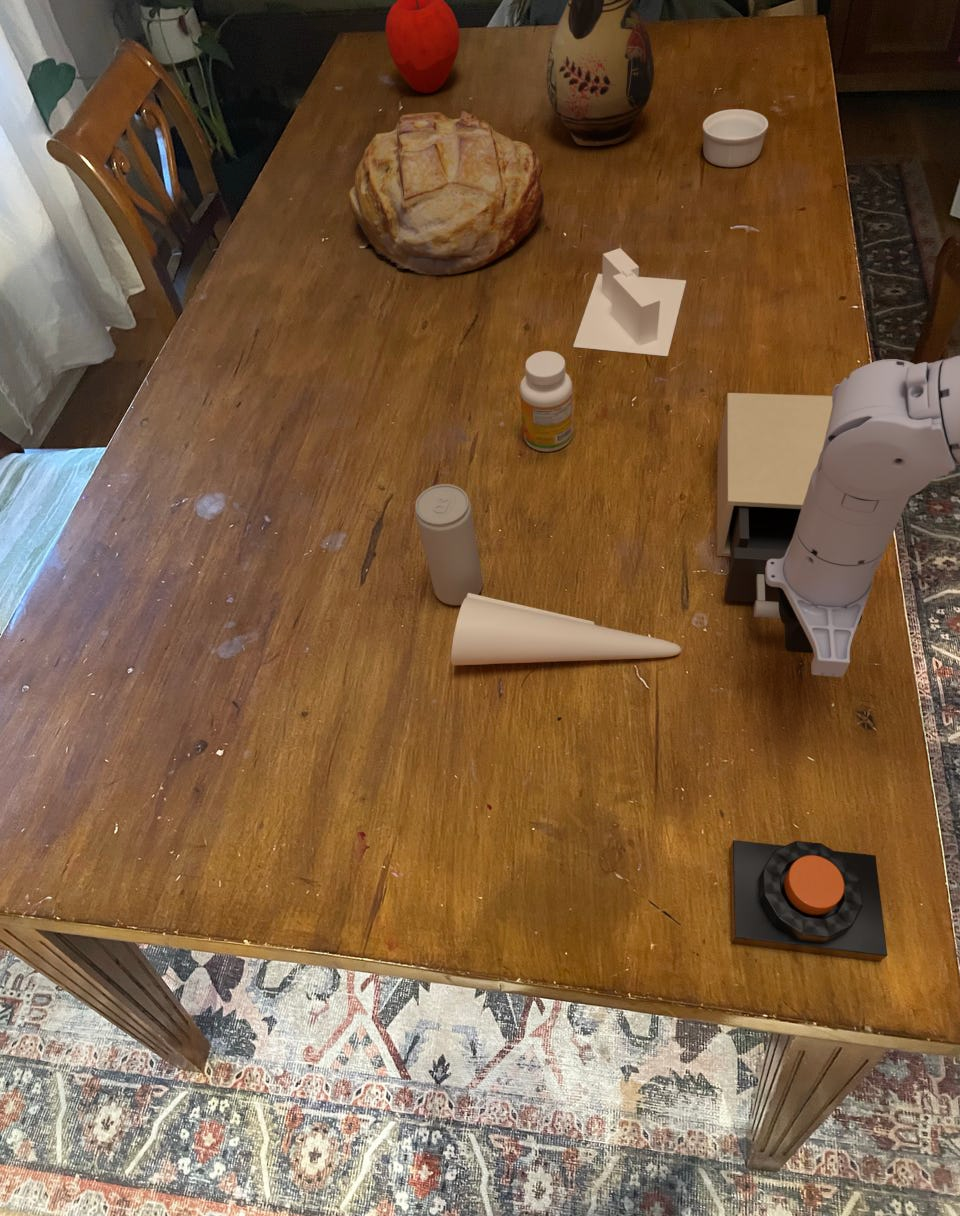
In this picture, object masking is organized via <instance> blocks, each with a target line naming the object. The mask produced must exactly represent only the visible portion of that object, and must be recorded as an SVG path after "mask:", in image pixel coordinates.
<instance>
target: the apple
mask: <svg viewBox="0 0 960 1216" xmlns="http://www.w3.org/2000/svg"><path fill="white" fill-rule="evenodd" d="M385 19H386V21H385V31H384V34H385V37H386V41H387V46H388V50H389V55H390V57H391V59H392V61H393V63H394V65H395V67H396V69H397V71H398V72H399V74H400V75H401V77H402V78H403V79H404V80H405V82H406V83H407V84H408V85H409V87H411V88H412V90H414V91H415V92H418V93H422V94H431V93H435V92H436V91H438V90H439V89H440V88H441V87H443V85H444V84H445V83H446V80H447V79H448V77H449V75H450V73H451V70H452V68H453V66H454V63H455V61H456V59H457V55H458V52H459V49H460V38H461V37H460V36H461V35H460V28H459V25H458V21H457V19H456V16H455V14H454V12H453V10H452V8H451V7H450V6H449V5H448V3H446V1H445V0H397V1H396V2H394V3H393V5H392V6H391V7H390V8H389V11H388V14H387V17H386V18H385Z"/></svg>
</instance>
